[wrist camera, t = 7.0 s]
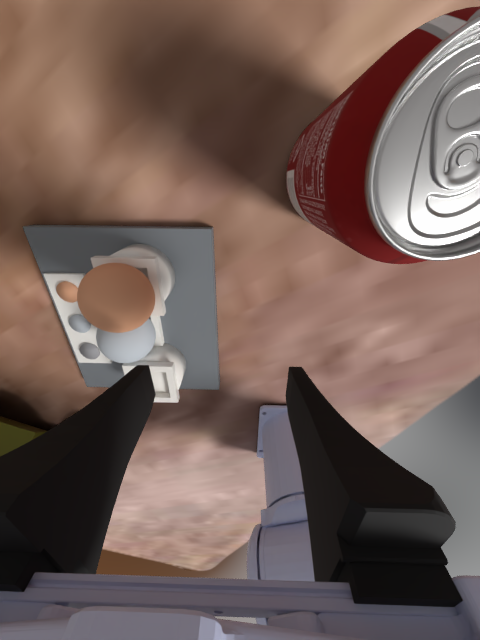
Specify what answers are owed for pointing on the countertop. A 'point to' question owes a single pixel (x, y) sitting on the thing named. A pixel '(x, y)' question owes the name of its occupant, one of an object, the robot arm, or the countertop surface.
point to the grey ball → (127, 343)
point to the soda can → (400, 150)
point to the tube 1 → (146, 269)
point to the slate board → (173, 328)
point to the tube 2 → (163, 371)
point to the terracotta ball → (116, 297)
